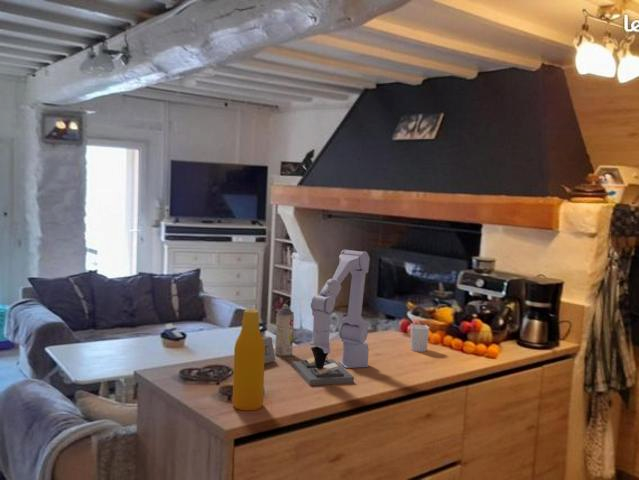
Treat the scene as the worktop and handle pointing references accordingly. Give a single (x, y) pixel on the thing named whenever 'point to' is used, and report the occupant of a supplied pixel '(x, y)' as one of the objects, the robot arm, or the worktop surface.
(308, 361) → the back rocker
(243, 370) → the beer bottle
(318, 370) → the front rocker
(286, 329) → the aerosol can
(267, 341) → the electrical switch
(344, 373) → the breaker panel
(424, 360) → the worktop surface
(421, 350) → the white cup
